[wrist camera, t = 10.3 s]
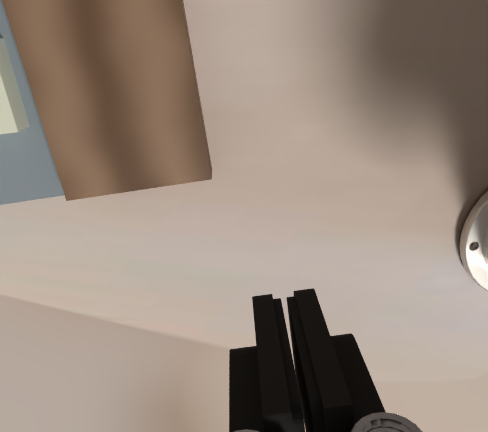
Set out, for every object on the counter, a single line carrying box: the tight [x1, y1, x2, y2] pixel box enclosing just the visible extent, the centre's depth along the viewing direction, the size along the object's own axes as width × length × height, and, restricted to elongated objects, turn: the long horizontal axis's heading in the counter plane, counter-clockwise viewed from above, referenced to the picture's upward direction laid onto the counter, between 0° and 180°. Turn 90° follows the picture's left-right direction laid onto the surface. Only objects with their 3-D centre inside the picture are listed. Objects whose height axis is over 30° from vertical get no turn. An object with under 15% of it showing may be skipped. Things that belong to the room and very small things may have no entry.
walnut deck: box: [2, 0, 212, 201], centre depth 30 cm, size 11×16×2 cm
